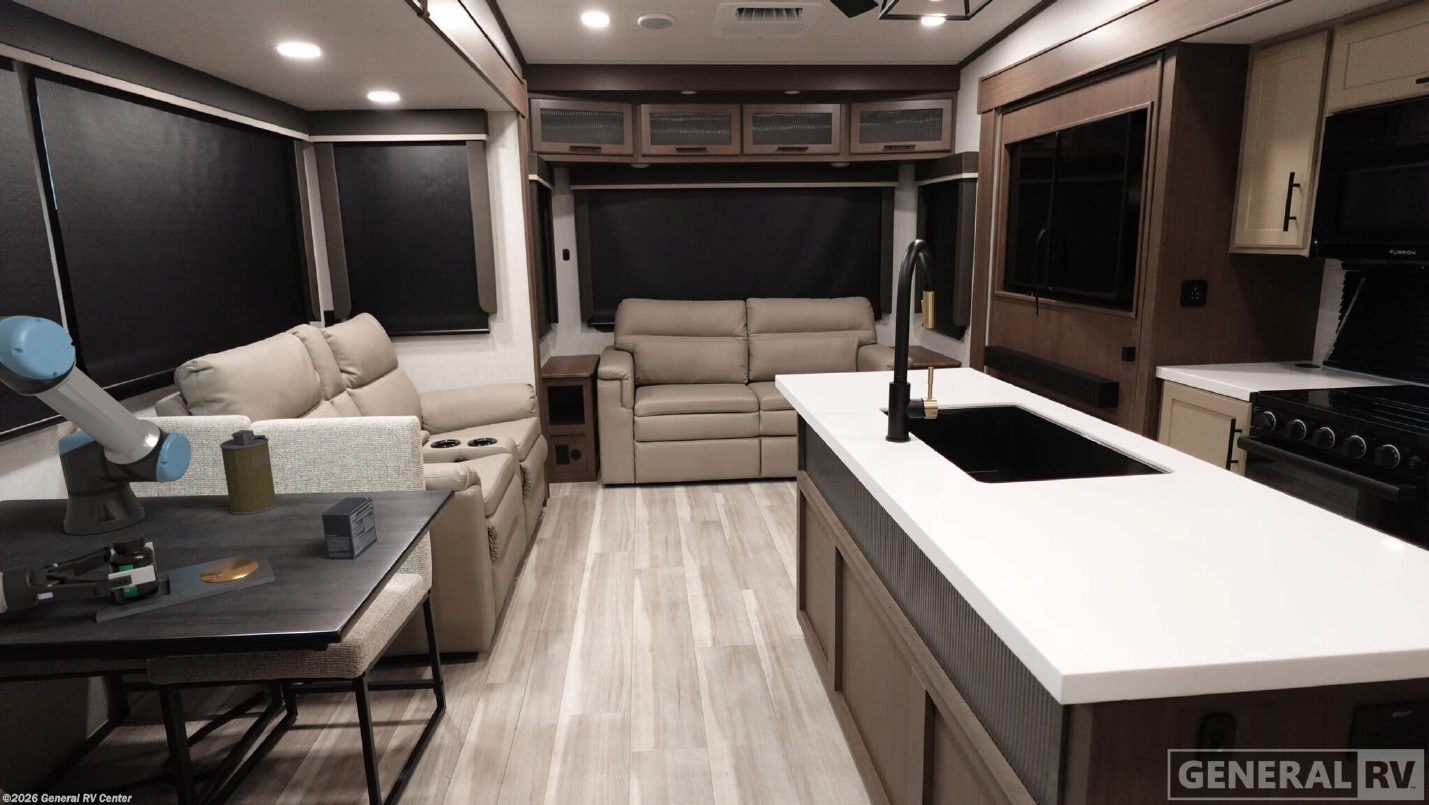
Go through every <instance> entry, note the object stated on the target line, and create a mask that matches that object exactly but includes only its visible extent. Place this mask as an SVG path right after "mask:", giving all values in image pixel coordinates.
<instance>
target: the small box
mask: <svg viewBox="0 0 1429 805" xmlns="http://www.w3.org/2000/svg"><path fill="white" fill-rule="evenodd" d="M321 519H322V525H323V534H324V541H325V549H326V553H327V554H326V556H327V560H356V559H357V558H358V557H360V556H361V555H362V554H363V553H364V552H366V550H368V549H369V548H370V547H371V546H372V545H373V544H375V543H376V542H377V541H378V537H377V529H376V522H375V514H374V504H373V498H372V496H367V497H364V496H363V497H361V496H360V497H357V496H356V497H353V496H352V497H350V496H349V497H344V498H343V499H342V500H341V501H339V502H338V503H336V504H334V505H333V506H332V507H330V508H328V509H327V510H326V511H325V512H323V513H322V514H321Z"/></svg>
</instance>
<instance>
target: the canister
mask: <svg viewBox="0 0 1429 805" xmlns="http://www.w3.org/2000/svg"><path fill="white" fill-rule="evenodd" d="M230 436H231V437H232V438H231V439H227V440H226V441H223V442H221V443H220V444H219V448H220V449H221V454H222V455H221V456H222V460H223V461H222V462H223V468H224V475H225V482H226V487H227V488H226V489H227V495H228V502H229V510H228V511H229V512H230V513H231V514H232V515H237V516H243V515H244V516H247V515H248V516H249V515H254V514H260V513H264V512H267V511H270V510H272V509H274V508H276V506H278V501H277V500H276V492H275V486H274V485H275V484H274V478H273V469H272V463H271V455H270V449H269V441H270V439H269V438H268V437H266V435H265V434H257V435H256V434H255V432H254V430H249V429H241V430H238V431H236V432H233V433H231V435H230Z"/></svg>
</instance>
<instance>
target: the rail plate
mask: <svg viewBox="0 0 1429 805" xmlns="http://www.w3.org/2000/svg"><path fill="white" fill-rule="evenodd" d="M157 573H158V579H159V582H160V583H163V582H169V592H170V594H166V595H161V596H158V597H157V596H155V597H153V598H151V599H147V600H143V601H139V602H134V603H130V604H121V605H117V606H113V607H108V608H104V609H99V610H96V614H95V615H96V616H95V618H96V623H101V622H105V621H111V620H115V619H119V618H123V617H127V616H131V615H134V614H135V615H137V614H140V613H143V612H144V613H145V612H149V611H152V610H153V611H154V610H157V609H162V608H165V607H170V606H174V605H178V604H183V603H186V602H190V601H195V600H196V601H197V600H200V599H204V598H208V597H212V596H216V595H217V596H218V595H221V594H225V593H229V592H234V591H238V590H241V589H246V588H250V587H255V586H259V585H263V584H268V582H269V583H273V582H275V581H276V578H275V574H274V572H273V569H272V566H271V564H270V562H269V558H268V556H267V554H266V550H259V551H255V552H249V553H245V554H240V555H236V556H235V555H234V556H231V557H230V556H229V557H226V558H225V557H224V558H221V559H215V560H211V561H206V562H203V563H202V562H201V563H198V564H193V565H188V566H183V567H178V568H173V569H170V570H165V571H159V572H157ZM110 591H111V592H114V589H113V590H111V589H110ZM114 593H115V592H114Z"/></svg>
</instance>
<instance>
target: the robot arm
mask: <svg viewBox="0 0 1429 805" xmlns="http://www.w3.org/2000/svg"><path fill="white" fill-rule="evenodd" d="M72 342H73V339H72V337H71V335H70V334H69V333H68V331H67V330H66V329H65V328H64V327H62V326H61V325H60V324H59V323H58V322H55V321H53V320H51V319H47V318H44V317H36V316H31V315H30V316H29V315H14V316H0V382H1V383H3V384H4V385H5V386H7V387H8V388H10V390H12V391H14V392H15V393H17V394H19V395H21V396H27V397H28V396H35V397H36V398H38V399H39V400H41V401H42V402H43V403H45V405H47V406H49V407H50V408H51V409H53V410H54V411H55V412H57V413H58V414H60V415H61V416H62V417H63V418H65V419H66V420H67V421H69V422H70V423H72V425H74V426H75V427H77V428H78V429H80V430H79V431H75V432H72V433H71V432H70V433H68V434H65V435H63V436H62V437H61V438H59V440H58V451H59V454H58V456H59V459H60V464H61V468H62V473H63V474H62V475H63V478H64V483H65V486H66V490H67V491H66V492H67V498H68V500H67V506H66V512H65V517H64V519H63V527H64V532H65V533H67V534H69V535H75V536H76V535H77V536H79V535H80V536H81V535H84V536H85V535H86V536H87V535H95V534H103V533H107V532H112V531H116V530H120V529H124V528H126V527H127V528H128V527H130V526H133V525H134V524H137V523H139V522H141V521H142V520H143V519H144V518H145V510H144V507H143V505H142V504H141V503H140V501H139V499H138V497H137V495H136V494H135V493H134V490H133V489H132V486H131V483H159V484H163V483H171V482H176V481H177V480H180V479H181V478H182V477H184V475H185V474H186V472H187V471H188V468H189V466H190V463H191V459H192V458H191V457H192V448H191V443H190V441H189V439H188V437H187V436H186V435H185V434H183V433H181V432H176V431H172V432H167V431H165V430H163V429H162V428H161V427H159V426H158V425H157V424H156V423H155V422H153V421H152V420H149V419H143V418H142V419H139V418H137V416H135V415H134V414H133V413H132V412H131V411H129V410H128V409H126V407H124V406H123V405H122V404H121V403H120V402H118V401H117V400H116V399H115V398H114V397H113V396H112V395H110V394H109V393H108V392H107V391H105V389H103V388H102V387H100V385H98V384H97V383H96V382H95V381H93V380H92V378H90V377H89V376H88V375H86V374H85V373H84V371H82V370H80V369H79V368H78V367H77V366H76V364H77V360H76V348H75V347H76V346H74V345H72ZM145 546H146V547H149V548H151V549H152V550H153V552H154V553H155V550H154V545H153V542H152V541H150V542H146V545H145ZM114 553H115V551H113V549H111V546H110V545H104V546H103V547H100V548H97V549H93V550H90V551H87V552H84V553H80V554H77V555H74V556H70V557H68V558H65V559H61V560H58V561H54V562H49V563H45V564H43V569H44V570H42V571H39V572H36V571H35V568H34V567H33V565H31V564H24V565H19V566H13V567H9V568H6V569H4V570H3V572H1V571H0V614H4V613H5V612H6V611H7V609H8V610H9V611H12V612H15V611H18V610H19V611H20V610H22V609H28V608H32V607H36V606H37V605H38V604H45V603H49V602H50V603H51V602H54V601H55V602H56V601H58V602H59V601H66V600H67V601H68V600H69V601H71V600H83V599H96V598H97V599H99V598H103V597H109V596H112V593H111V591H110V589H111V590H113V589H117V588H122V587H127V586H131V585H136V584H141V583H145V582H150V581H154V580H155V574H154V568H153V565H152V566H147V567H143V568H138V569H133V570H128V571H123V572H118V573H114V574H111V573H109V574H108V577H106V576H105V577H104V576H103V577H102V576H83V575H84V574H87V573H89V572H92V571H93V570H96V569H99V568H102V567H104V566H106V565H108V564H109V559H110V557H111V555H112V554H114Z"/></svg>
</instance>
